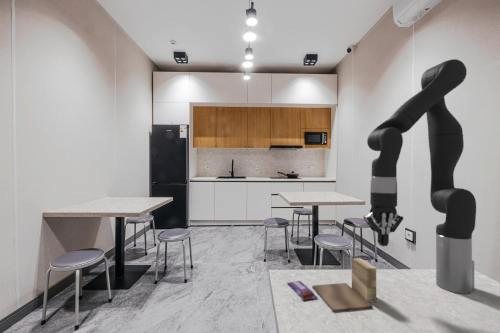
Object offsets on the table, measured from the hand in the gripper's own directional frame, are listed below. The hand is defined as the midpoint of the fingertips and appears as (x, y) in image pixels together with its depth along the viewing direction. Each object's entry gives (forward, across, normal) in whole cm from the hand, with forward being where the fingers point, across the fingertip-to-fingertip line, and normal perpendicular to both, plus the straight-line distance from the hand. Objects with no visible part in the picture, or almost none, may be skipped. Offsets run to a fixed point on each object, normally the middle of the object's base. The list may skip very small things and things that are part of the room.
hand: (383, 245), depth 78 cm
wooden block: (+15, +7, 0) cm, 17 cm away
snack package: (+16, +25, -5) cm, 30 cm away
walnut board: (+15, +15, 0) cm, 21 cm away
